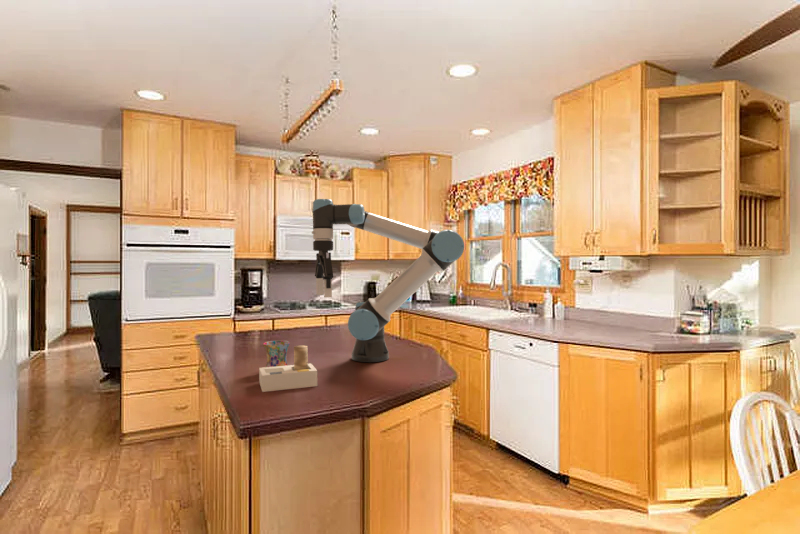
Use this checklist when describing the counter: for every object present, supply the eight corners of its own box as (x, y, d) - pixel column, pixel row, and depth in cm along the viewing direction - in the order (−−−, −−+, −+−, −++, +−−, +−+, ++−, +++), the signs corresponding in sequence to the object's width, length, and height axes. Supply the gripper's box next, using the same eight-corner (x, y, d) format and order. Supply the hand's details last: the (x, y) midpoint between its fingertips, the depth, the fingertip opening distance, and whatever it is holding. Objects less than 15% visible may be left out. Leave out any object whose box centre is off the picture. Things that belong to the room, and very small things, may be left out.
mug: (291, 373, 163) (291, 344, 163) (264, 376, 159) (264, 345, 159) (287, 366, 174) (287, 338, 174) (261, 368, 171) (261, 340, 170)
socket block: (311, 377, 157) (311, 362, 157) (317, 386, 147) (317, 369, 146) (259, 382, 151) (259, 367, 151) (262, 391, 140) (261, 375, 140)
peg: (306, 377, 153) (306, 345, 153) (308, 381, 149) (308, 347, 149) (293, 379, 151) (292, 346, 151) (295, 382, 147) (294, 348, 147)
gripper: (307, 241, 184) (307, 294, 185) (320, 238, 161) (321, 298, 161) (325, 241, 187) (326, 293, 187) (341, 238, 164) (342, 297, 164)
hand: (323, 296), depth 174 cm, fingers open, 13 cm apart
